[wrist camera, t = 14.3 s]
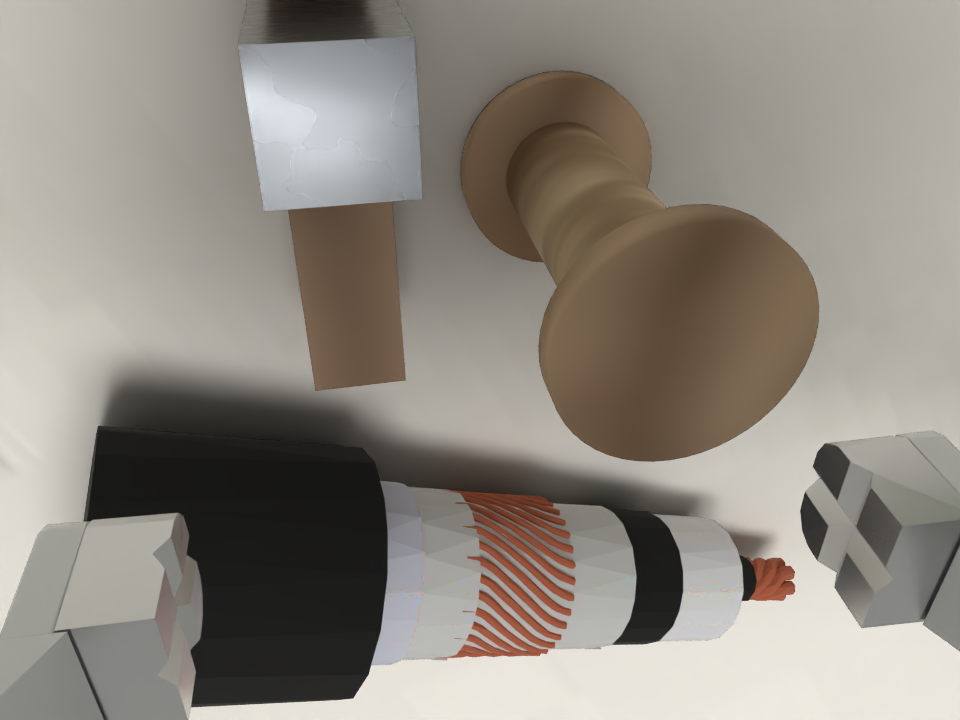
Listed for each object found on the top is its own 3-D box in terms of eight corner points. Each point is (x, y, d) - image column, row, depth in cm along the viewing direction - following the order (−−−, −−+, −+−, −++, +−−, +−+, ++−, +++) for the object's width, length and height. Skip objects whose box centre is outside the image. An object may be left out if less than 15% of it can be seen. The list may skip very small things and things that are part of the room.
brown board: (335, -346, 22) (346, -387, 17) (388, 294, 33) (405, 380, 28) (218, -347, 22) (197, -391, 17) (312, 302, 33) (315, 391, 28)
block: (384, -23, 26) (415, 36, 19) (392, 106, 28) (422, 198, 22) (252, -18, 25) (237, 45, 19) (270, 114, 28) (264, 211, 21)
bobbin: (651, 65, 30) (847, 208, 19) (633, 242, 34) (789, 443, 23) (458, 77, 29) (553, 236, 18) (462, 259, 33) (544, 477, 22)
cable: (700, 518, 50) (741, 695, 46) (88, 482, 37) (55, 731, 32) (822, 455, 43) (887, 660, 38) (105, 378, 29) (65, 687, 24)
